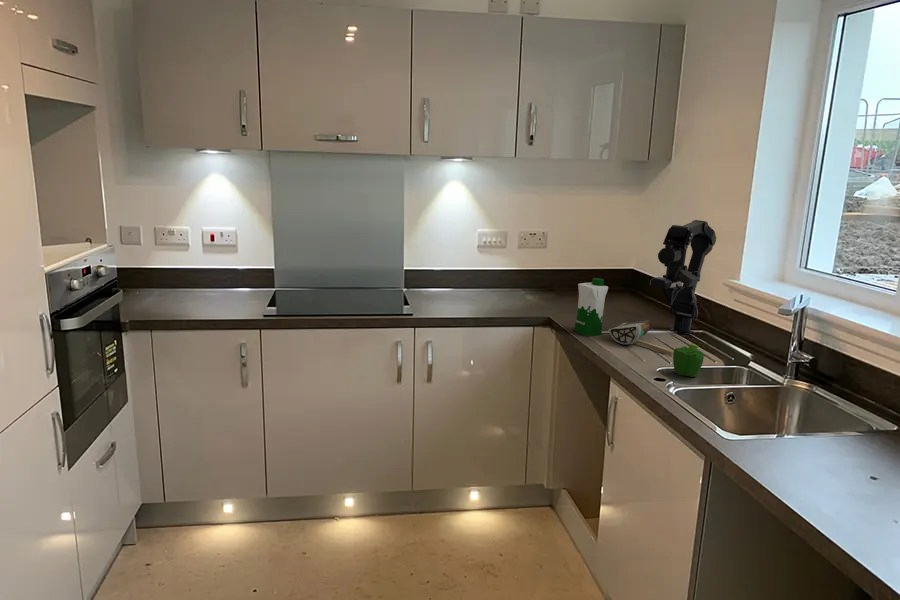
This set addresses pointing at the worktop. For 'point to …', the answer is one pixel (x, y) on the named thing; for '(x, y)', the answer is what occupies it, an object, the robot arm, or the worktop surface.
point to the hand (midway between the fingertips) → (669, 305)
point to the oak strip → (654, 347)
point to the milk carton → (590, 307)
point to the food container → (629, 332)
